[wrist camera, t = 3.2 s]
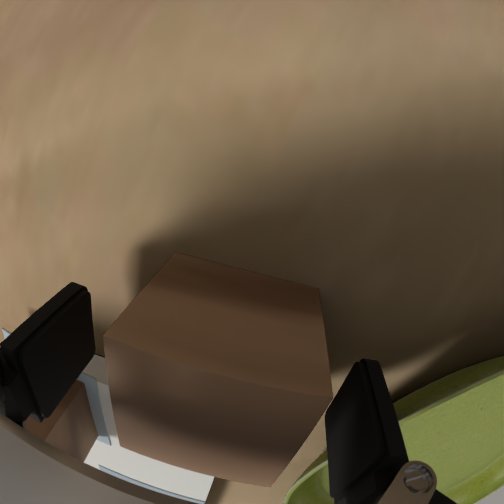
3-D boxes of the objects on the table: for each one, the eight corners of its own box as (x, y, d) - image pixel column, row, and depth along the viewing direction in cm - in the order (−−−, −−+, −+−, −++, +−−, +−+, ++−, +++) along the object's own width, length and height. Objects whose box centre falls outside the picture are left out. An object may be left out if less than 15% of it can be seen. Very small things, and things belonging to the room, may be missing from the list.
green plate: (590, 346, 10) (610, 369, 7) (440, 500, 18) (445, 524, 15) (409, 263, 10) (446, 311, 7) (244, 495, 18) (238, 529, 15)
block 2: (176, 251, 10) (102, 335, 6) (317, 287, 10) (332, 397, 6) (166, 355, 12) (120, 446, 8) (279, 385, 12) (270, 487, 8)
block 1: (12, 343, 12) (-42, 399, 7) (84, 382, 12) (31, 460, 7) (33, 400, 14) (-5, 452, 9) (98, 435, 13) (64, 499, 9)
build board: (19, 313, 13) (1, 328, 11) (238, 398, 13) (233, 425, 11) (74, 460, 20) (67, 472, 18) (200, 508, 19) (197, 522, 18)
